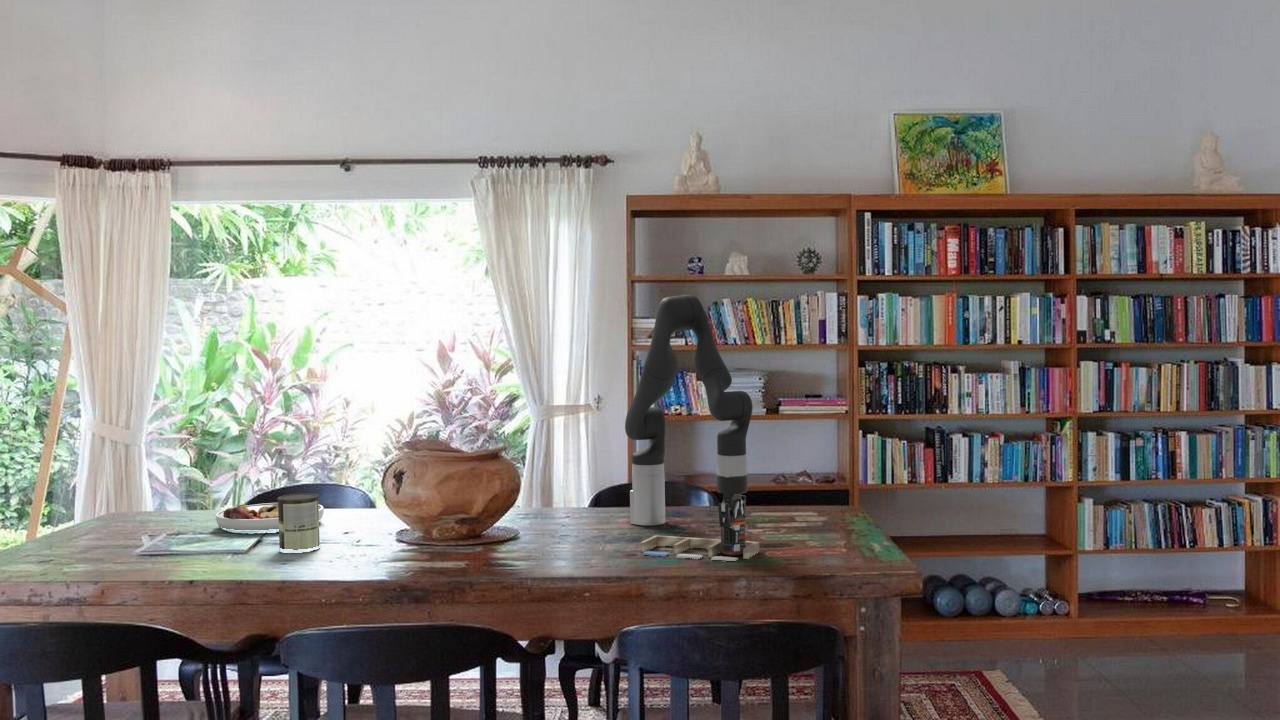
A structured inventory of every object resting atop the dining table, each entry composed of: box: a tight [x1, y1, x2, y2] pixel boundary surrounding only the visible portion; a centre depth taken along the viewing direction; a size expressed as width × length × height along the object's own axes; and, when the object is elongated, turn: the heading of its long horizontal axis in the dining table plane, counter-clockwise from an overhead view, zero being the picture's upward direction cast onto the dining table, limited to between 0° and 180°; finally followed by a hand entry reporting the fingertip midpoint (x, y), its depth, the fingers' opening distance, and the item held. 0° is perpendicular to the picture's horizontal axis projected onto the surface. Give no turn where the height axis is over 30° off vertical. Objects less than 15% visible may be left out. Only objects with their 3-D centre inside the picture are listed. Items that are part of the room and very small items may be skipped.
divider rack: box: [639, 535, 760, 560], centre depth 270 cm, size 28×10×2 cm, turn 66°
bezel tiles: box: [642, 550, 739, 562], centre depth 263 cm, size 24×2×1 cm, turn 66°
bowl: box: [215, 502, 325, 530], centre depth 319 cm, size 30×30×8 cm
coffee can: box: [277, 492, 321, 550], centre depth 283 cm, size 10×10×14 cm
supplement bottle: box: [720, 507, 746, 556], centre depth 266 cm, size 6×6×11 cm
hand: (733, 540), depth 266 cm, fingers closed on supplement bottle, 6 cm apart
